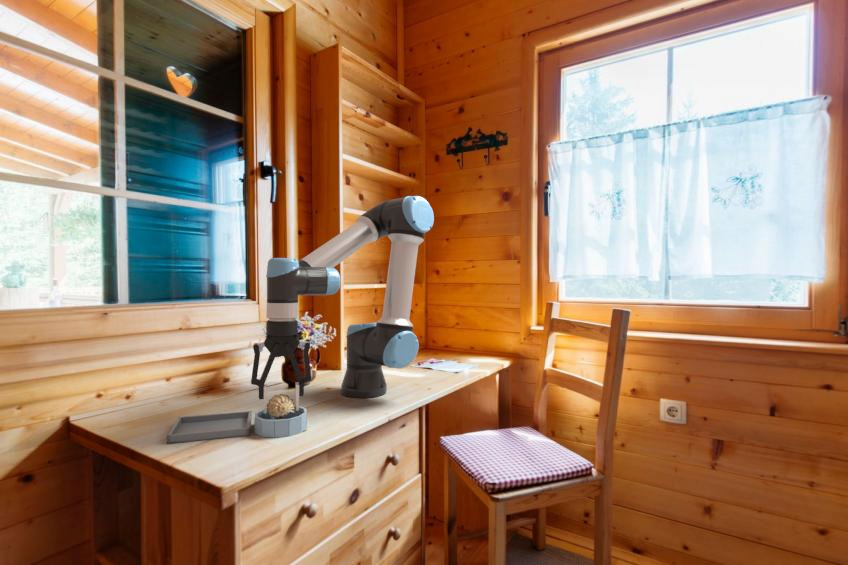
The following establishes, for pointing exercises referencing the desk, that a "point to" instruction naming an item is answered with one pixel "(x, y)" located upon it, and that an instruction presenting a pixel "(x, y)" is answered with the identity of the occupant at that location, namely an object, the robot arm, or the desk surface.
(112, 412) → the desk surface
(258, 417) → the bowl
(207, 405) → the desk surface
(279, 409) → the seashell
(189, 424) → the tray
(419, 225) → the robot arm
